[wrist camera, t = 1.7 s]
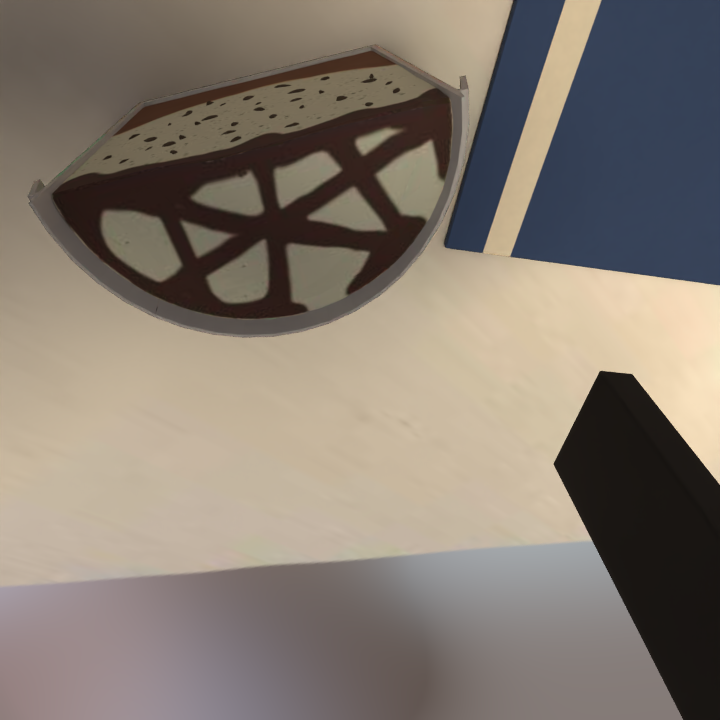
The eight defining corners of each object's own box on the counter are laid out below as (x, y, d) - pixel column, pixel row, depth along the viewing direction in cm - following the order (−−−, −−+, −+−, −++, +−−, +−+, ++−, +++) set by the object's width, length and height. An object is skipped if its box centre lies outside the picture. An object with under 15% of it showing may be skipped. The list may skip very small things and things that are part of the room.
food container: (163, 253, 27) (114, 392, 19) (102, 111, 23) (7, 207, 15) (434, 188, 27) (502, 302, 19) (413, 34, 23) (486, 91, 15)
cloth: (443, 244, 28) (445, 248, 28) (532, -65, 22) (536, -64, 21) (833, 298, 33) (839, 302, 32) (1006, 53, 26) (1016, 55, 26)
